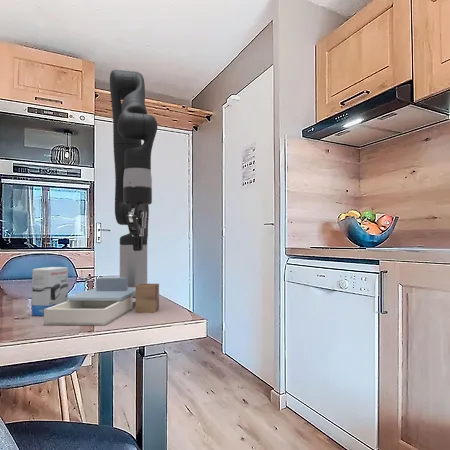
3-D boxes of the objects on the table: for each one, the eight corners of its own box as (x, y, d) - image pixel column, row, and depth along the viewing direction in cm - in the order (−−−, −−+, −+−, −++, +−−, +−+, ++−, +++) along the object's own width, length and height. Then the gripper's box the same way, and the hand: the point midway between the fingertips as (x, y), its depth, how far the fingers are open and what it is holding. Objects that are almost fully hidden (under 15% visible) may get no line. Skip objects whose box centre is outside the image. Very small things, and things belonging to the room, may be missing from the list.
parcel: (140, 309, 102) (140, 283, 102) (158, 309, 102) (158, 283, 102) (135, 312, 97) (135, 285, 97) (154, 313, 97) (154, 285, 97)
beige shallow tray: (82, 308, 103) (82, 295, 104) (132, 308, 103) (132, 295, 103) (43, 324, 84) (44, 309, 84) (105, 325, 83) (105, 309, 83)
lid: (97, 289, 114) (97, 275, 114) (142, 289, 113) (142, 275, 114) (66, 300, 94) (66, 283, 94) (121, 300, 93) (121, 283, 94)
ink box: (47, 316, 93) (48, 269, 94) (30, 315, 94) (31, 268, 95) (68, 310, 101) (69, 266, 102) (52, 309, 102) (53, 266, 103)
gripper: (132, 190, 108) (132, 249, 107) (115, 183, 95) (115, 251, 94) (157, 189, 107) (157, 249, 107) (144, 183, 94) (144, 251, 94)
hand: (137, 250), depth 101 cm, fingers closed
